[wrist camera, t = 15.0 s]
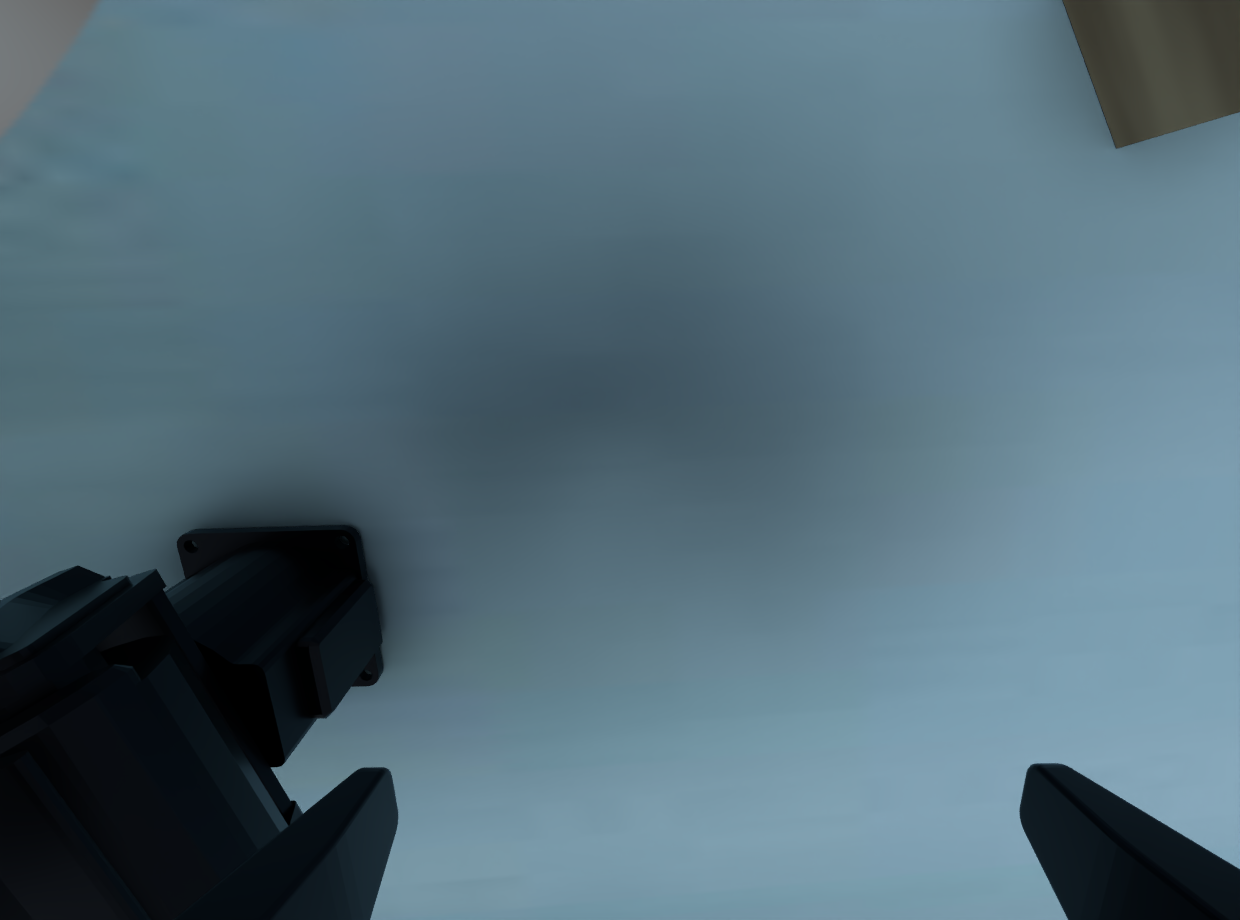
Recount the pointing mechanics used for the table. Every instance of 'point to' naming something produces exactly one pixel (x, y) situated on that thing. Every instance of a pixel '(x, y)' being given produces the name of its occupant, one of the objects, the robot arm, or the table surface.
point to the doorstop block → (1160, 62)
